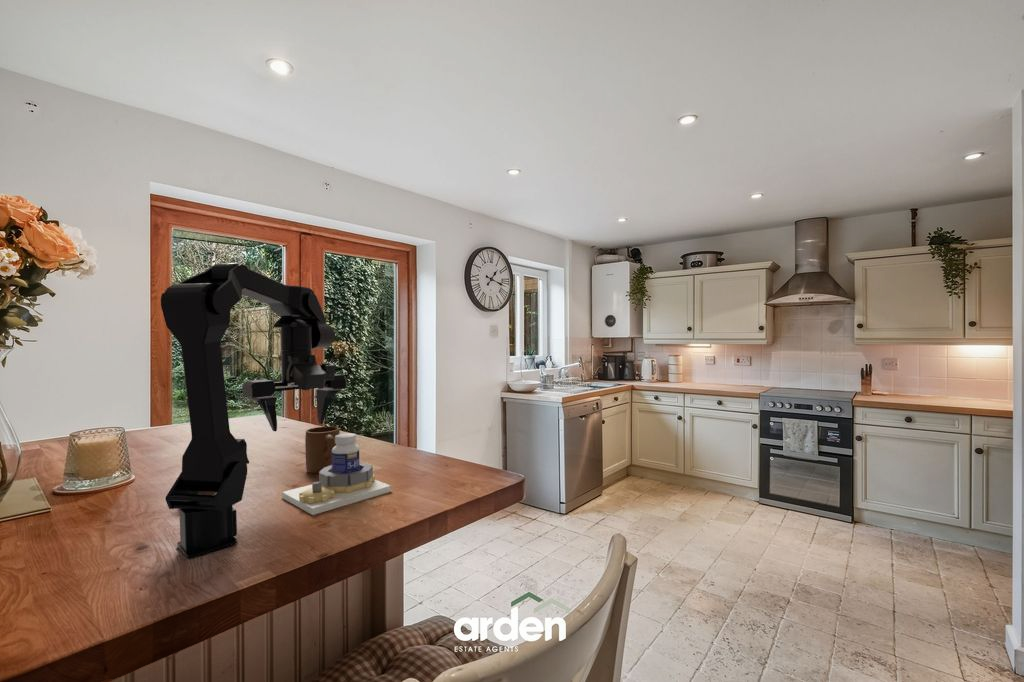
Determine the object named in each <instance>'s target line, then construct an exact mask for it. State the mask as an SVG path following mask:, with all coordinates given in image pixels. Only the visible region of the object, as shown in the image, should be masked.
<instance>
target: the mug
mask: <svg viewBox="0 0 1024 682" xmlns="http://www.w3.org/2000/svg"><path fill="white" fill-rule="evenodd" d="M339 434H341V431H340V427H338V426H317V427H313V428H309V429H307V430H305V439H304V441H305V469H306V471H307V473H310V474H319V472H320V471H321V470H322V469H323V468H324V467H327V466H331V465H332V449H333V447H334V446H336V443H335V436H336V435H339Z"/></svg>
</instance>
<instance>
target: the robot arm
mask: <svg viewBox="0 0 1024 682" xmlns="http://www.w3.org/2000/svg"><path fill="white" fill-rule="evenodd" d="M242 296H244V297H247V298H250V299H253V300H256V301H258V302H262V303H264V304H266V305H268V307H269V310H270V311H272V312H273V313H275V314H277V315H278V316H279V317H280V318H279V319H278V320H277V321H276V322H274V323H273V327H274V328H280V355H278V361H280V365H281V366H280V367H281V371H280V372H281V375H279V376H278V380H279V381H276V382H275V381H274V380H269V379H264V378H263V379H255V380H254V379H252V380H245V382H243V385H242V396H244V397H248V398H250V400H251V401H252V400H253V401H256V402H257V403H258V405H259V406H260V408H261V409H262V412H263V413H264V416H265V418H266V419H267V422H268V424H269V426H270V428H271V430H272V431H273V432H277V431H278V418H277V417H278V416H277V411H276V410H277V407H276V404H277V400H278V397H277V396H274V395H273V394H275V393H276V392H282V391H294V390H302V391H309V390H313V389H315V394H316V396H315V399H316V412H317V413H316V417H317V421H318V422H317V423H318V424H319V425H323V424H324V420H325V418H326V416H327V415H326V414H327V412H328V409H329V406H330V404H331V402H332V401H333V399H334V397H335V396H336V394H339V393H342V389H347V388H348V379H347V378H346V376H345V375H344V374H339V373H335V372H336V371H335V364H334V363H332V362H322V363H321V364H317V361H316V360H317V359H316V355H315V354H313V350H315V349H326V348H329V347H330V346H332V345H333V343H334V342H335V338H336V333H335V331H334V328H333V327H332V326H331V325H330V324H329V323H327V318H326V316H325V314H324V312H323V309H322V306H321V305H320V301H319V300H318V297H317V295H316V294H315V292H314V290H313V289H312V288H311V287H306V286H301V285H288V284H283V283H282V282H279V281H277V280H275V279H273V278H271V277H268V276H267V275H264V274H262V273H260V272H257V271H255V270H252V269H251V268H249V267H248V266H247V265H246V264H242V263H240V262H221V263H215V264H214V265H211V266H210V267H208V268H207V269H205V270H204V271H202V272H200V273H198V274H195V275H192V276H191V277H188V278H186V279H183V280H181V282H179V283H175V284H171V285H170V286H168V287H167V288H166V289H165V291H164V292H162V293H161V296H160V306H161V307H160V308H161V311H162V315H163V318H164V322H165V325H166V328H167V329H168V331H169V332H170V333H171V334H172V336H173V337H174V338H175V339H176V340H177V342H178V343H179V344H180V347H181V355H182V364H183V371H184V381H185V389H186V396H187V397H186V399H187V407H188V415H189V424H190V433H191V440H190V442H189V443H188V445H187V447H186V448H185V451H184V453H183V454H182V457H181V472H180V473H179V475H178V477H177V479H175V481H174V483H173V484H172V486H171V488H170V490H169V491H168V492H167V494H166V496H165V502H166V505H167V507H168V509H169V510H174V509H176V510H179V536H180V539H179V541H178V542H177V543H176V545H177V546H176V547H177V548H178V549H179V550H180V551H181V552H182V554H183V555H185V557H186V558H188V559H191V558H195V557H198V556H201V555H204V554H208V553H211V552H215V551H217V550H220V549H224V548H228V547H230V546H234V545H236V544H238V539H237V538H236V536H237V535H238V526H237V525H238V520H237V517H238V516H237V509H235V508H234V507H233V506H234V505H236V504H238V503H240V502H241V501H242V500H243V495H244V491H245V486H246V482H247V481H246V480H247V477H248V476H247V475H248V465H249V464H250V460H249V458H248V454H247V453H248V451H247V449H248V444H247V442H246V439H245V438H235V436H234V435H233V434H232V433H231V431H230V430H231V429H230V420H229V412H228V411H229V410H228V400H227V393H226V381H225V374H224V373H225V372H224V365H223V354H222V345H221V343H222V342H221V341H222V339H223V337H224V335H225V334H226V332H227V330H228V328H229V326H230V324H231V309H232V308H233V307H235V305H237V303H239V302H240V301H241V300H242ZM198 491H207V492H217V493H215V494H214V495H198Z"/></svg>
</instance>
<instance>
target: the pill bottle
mask: <svg viewBox="0 0 1024 682" xmlns="http://www.w3.org/2000/svg"><path fill="white" fill-rule="evenodd" d="M356 442H357V435H356V433H352V432H351V433H350V432H348V433H340V434H339V435H336V436H335V443H336V446H334V447H333V449H332V473H333V474H349V473H353V472H357V471H360V467H359V462H360V446H359V445H358V444H356Z"/></svg>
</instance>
